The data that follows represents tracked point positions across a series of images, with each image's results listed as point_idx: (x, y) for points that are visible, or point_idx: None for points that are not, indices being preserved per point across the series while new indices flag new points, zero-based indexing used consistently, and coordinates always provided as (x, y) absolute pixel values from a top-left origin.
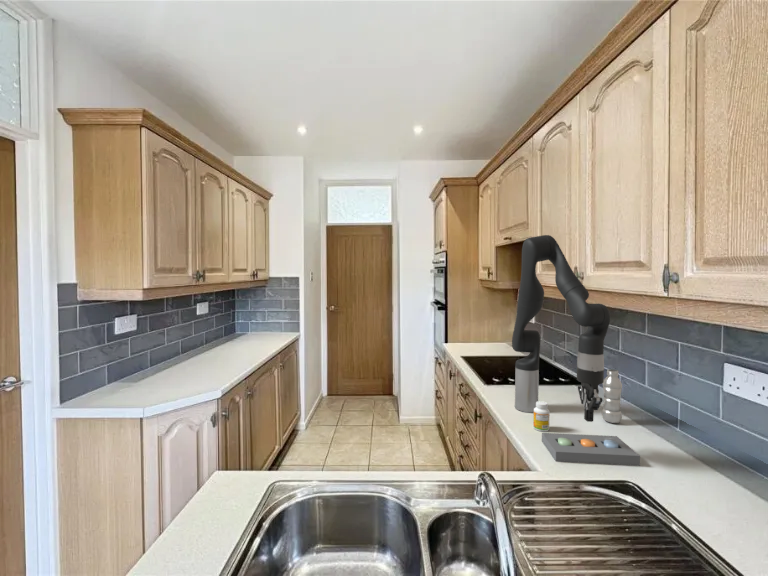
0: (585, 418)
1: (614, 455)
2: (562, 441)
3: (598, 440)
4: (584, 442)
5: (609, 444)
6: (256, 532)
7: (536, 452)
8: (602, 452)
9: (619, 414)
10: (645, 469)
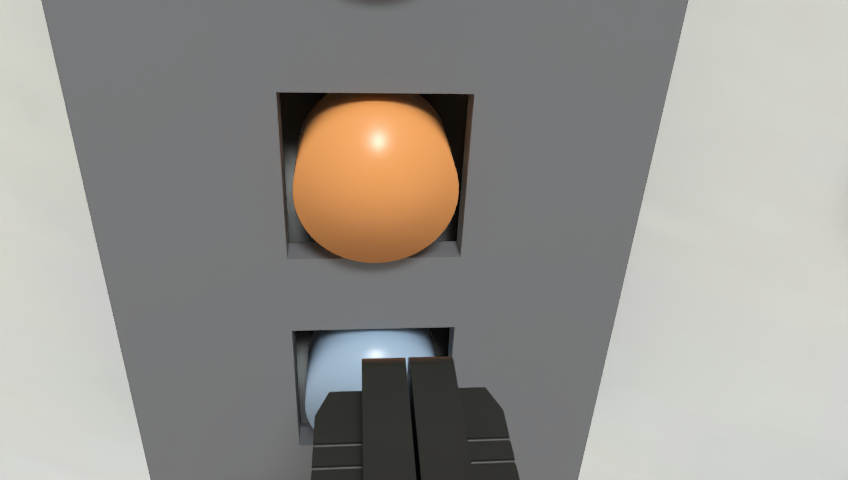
0: (396, 378)
1: (122, 332)
2: None
3: (471, 319)
4: (336, 142)
5: (322, 377)
6: None
7: None
8: (140, 247)
9: None
10: (121, 450)
